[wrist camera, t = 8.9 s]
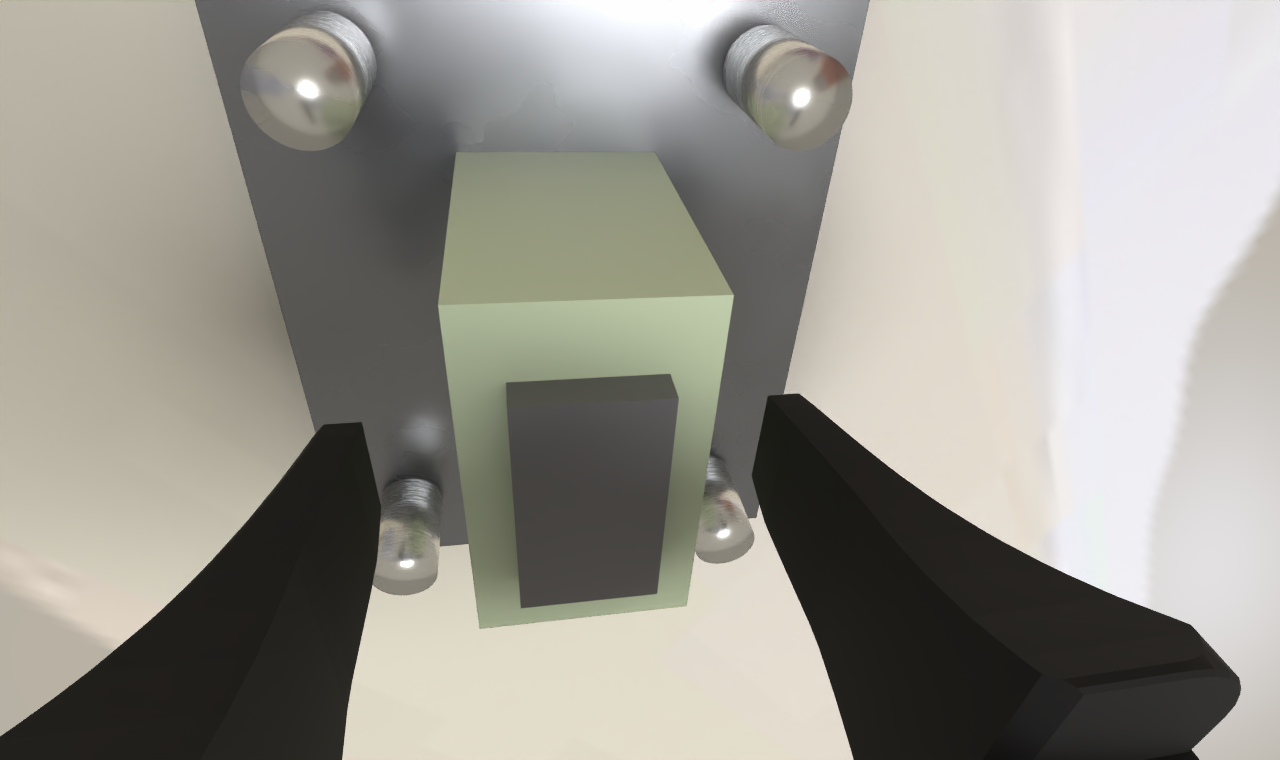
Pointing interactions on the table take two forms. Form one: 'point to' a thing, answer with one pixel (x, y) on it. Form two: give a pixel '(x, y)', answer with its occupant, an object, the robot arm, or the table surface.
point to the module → (579, 380)
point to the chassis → (521, 122)
